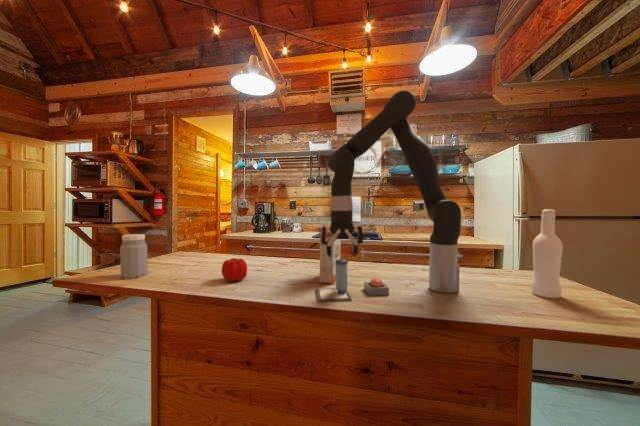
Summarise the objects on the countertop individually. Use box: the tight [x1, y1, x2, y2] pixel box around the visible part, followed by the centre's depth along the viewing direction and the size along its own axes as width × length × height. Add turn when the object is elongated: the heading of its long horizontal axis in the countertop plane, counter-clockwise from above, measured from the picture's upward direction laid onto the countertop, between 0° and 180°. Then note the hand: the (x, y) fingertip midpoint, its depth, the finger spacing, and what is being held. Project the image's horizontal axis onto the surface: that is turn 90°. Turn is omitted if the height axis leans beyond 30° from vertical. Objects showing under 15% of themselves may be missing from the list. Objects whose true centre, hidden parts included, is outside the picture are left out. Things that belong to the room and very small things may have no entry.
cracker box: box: [319, 230, 342, 285], centre depth 109 cm, size 14×6×21 cm, turn 163°
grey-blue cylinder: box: [335, 258, 349, 294], centre depth 90 cm, size 4×4×11 cm
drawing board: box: [315, 287, 353, 303], centre depth 90 cm, size 11×11×1 cm
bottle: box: [530, 208, 564, 299], centre depth 90 cm, size 8×8×30 cm
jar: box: [119, 233, 149, 279], centre depth 113 cm, size 10×10×18 cm
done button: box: [370, 278, 383, 287], centre depth 93 cm, size 4×4×2 cm
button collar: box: [363, 281, 390, 297], centre depth 94 cm, size 7×7×2 cm
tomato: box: [221, 257, 248, 282], centre depth 107 cm, size 11×11×9 cm
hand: (342, 256), depth 90 cm, fingers open, 8 cm apart
